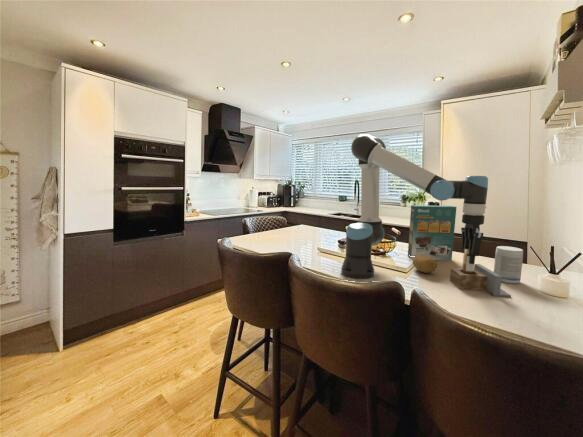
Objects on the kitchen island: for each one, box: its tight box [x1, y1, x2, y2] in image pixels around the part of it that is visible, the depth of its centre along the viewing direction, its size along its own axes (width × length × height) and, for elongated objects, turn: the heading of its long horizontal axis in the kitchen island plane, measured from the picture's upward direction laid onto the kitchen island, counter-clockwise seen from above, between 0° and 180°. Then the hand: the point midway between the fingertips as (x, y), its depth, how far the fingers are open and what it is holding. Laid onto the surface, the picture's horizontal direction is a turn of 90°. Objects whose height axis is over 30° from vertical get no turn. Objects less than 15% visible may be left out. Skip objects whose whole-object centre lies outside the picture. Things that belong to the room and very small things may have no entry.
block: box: [449, 267, 487, 292], centre depth 115 cm, size 10×9×6 cm
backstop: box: [474, 263, 512, 298], centre depth 112 cm, size 6×16×8 cm, turn 171°
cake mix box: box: [407, 204, 457, 261], centre depth 155 cm, size 22×6×30 cm, turn 85°
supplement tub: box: [493, 245, 524, 284], centre depth 121 cm, size 10×10×15 cm
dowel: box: [462, 249, 473, 274], centre depth 114 cm, size 4×4×12 cm
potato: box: [412, 255, 438, 274], centre depth 132 cm, size 10×14×8 cm
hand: (467, 269), depth 114 cm, fingers closed on dowel, 2 cm apart
